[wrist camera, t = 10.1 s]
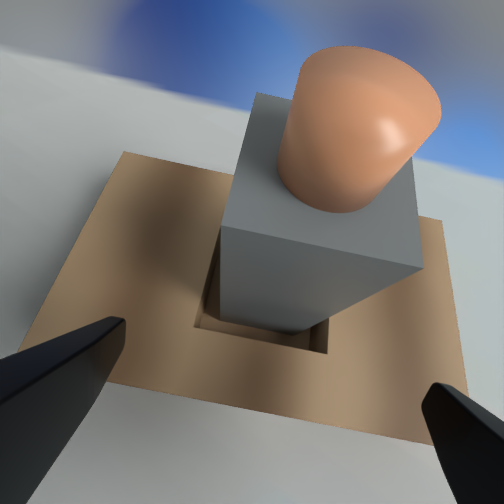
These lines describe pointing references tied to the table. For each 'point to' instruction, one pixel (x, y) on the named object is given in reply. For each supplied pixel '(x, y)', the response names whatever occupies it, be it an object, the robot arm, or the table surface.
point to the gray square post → (325, 192)
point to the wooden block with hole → (243, 337)
